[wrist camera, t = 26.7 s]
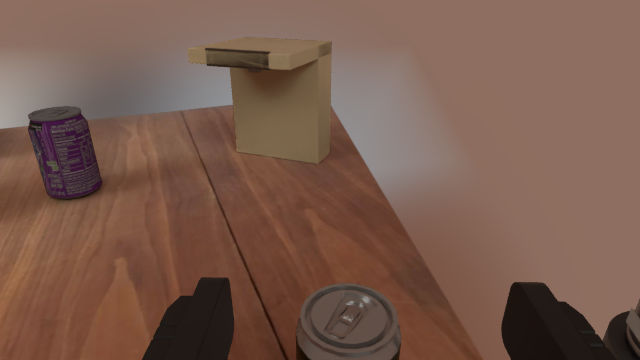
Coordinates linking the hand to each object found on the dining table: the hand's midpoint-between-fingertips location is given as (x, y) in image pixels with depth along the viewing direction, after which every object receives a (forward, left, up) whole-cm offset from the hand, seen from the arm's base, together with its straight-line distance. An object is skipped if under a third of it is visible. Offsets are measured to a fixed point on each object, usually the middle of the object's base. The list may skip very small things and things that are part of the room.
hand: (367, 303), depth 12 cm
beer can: (0, -7, -19) cm, 20 cm away
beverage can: (+38, -45, -20) cm, 62 cm away
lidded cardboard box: (+10, -59, -19) cm, 63 cm away
